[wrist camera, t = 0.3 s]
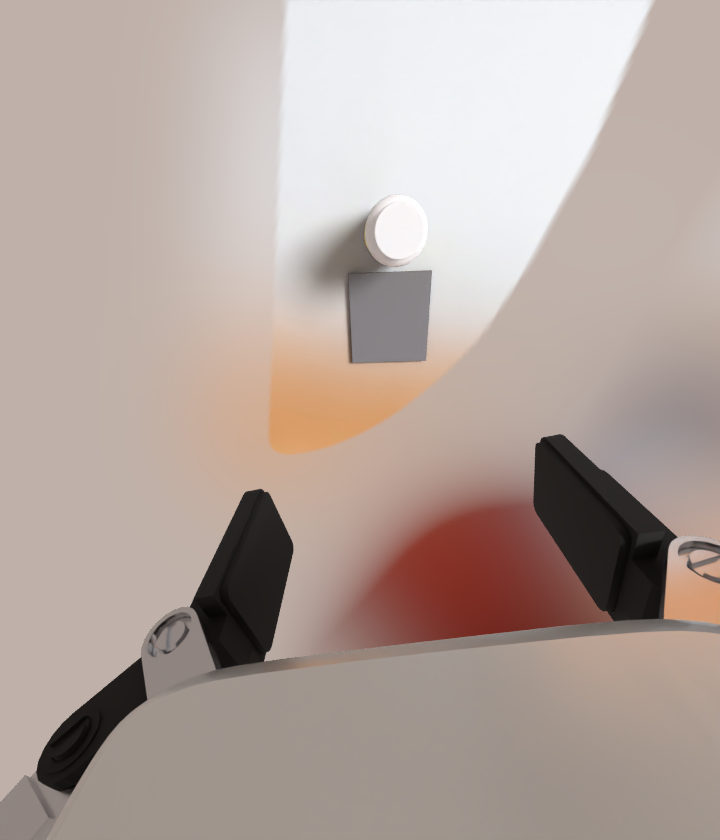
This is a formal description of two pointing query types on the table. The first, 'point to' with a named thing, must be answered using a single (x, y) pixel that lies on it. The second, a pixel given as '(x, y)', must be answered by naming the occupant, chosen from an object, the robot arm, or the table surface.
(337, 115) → the table surface
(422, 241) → the supplement bottle
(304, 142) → the table surface
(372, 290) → the mat
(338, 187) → the table surface
